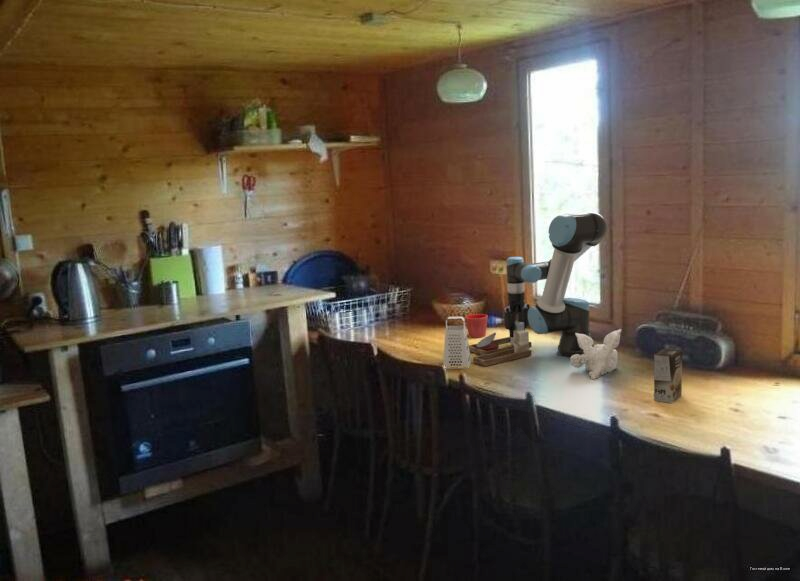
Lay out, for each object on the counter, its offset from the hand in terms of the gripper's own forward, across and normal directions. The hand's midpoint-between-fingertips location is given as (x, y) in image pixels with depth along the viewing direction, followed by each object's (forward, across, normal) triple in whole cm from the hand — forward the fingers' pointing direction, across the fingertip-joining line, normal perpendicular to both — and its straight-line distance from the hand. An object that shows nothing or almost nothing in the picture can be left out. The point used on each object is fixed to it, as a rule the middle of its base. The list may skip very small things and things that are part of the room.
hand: (517, 343), depth 325 cm
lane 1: (+1, +10, 0) cm, 11 cm away
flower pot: (+1, +3, -27) cm, 27 cm away
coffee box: (+1, +10, +89) cm, 90 cm away
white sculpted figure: (+1, +5, +52) cm, 53 cm away
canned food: (+1, +17, 0) cm, 17 cm away
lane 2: (+1, +20, +14) cm, 24 cm away
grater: (+1, +38, +7) cm, 39 cm away
